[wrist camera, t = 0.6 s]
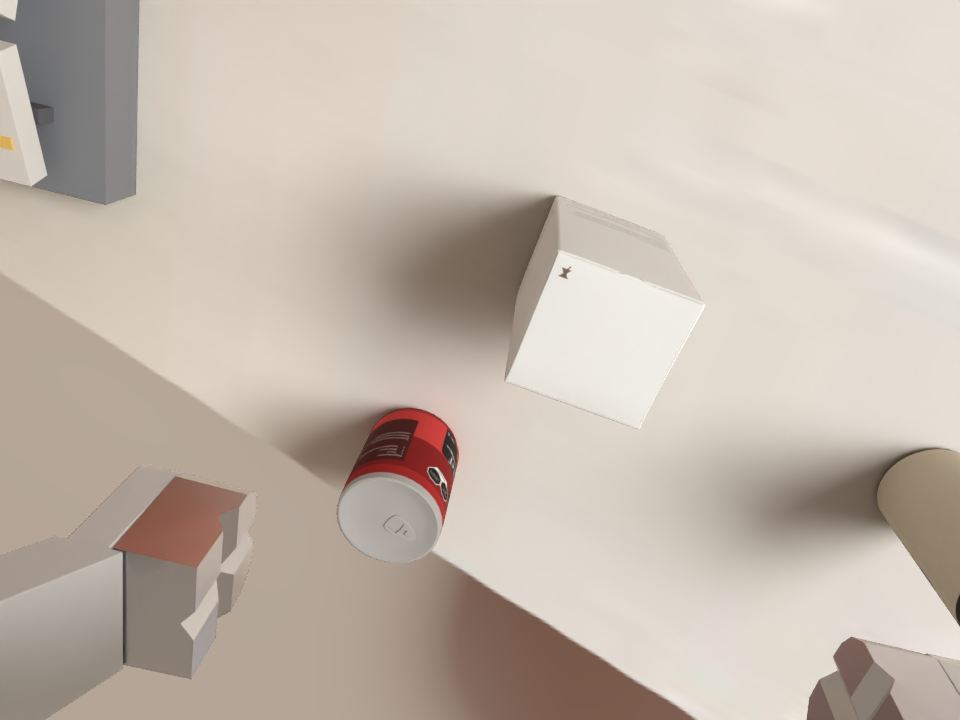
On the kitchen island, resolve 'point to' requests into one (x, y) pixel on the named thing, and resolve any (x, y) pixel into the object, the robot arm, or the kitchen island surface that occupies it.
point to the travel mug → (928, 517)
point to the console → (81, 92)
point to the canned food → (400, 487)
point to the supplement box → (600, 314)
